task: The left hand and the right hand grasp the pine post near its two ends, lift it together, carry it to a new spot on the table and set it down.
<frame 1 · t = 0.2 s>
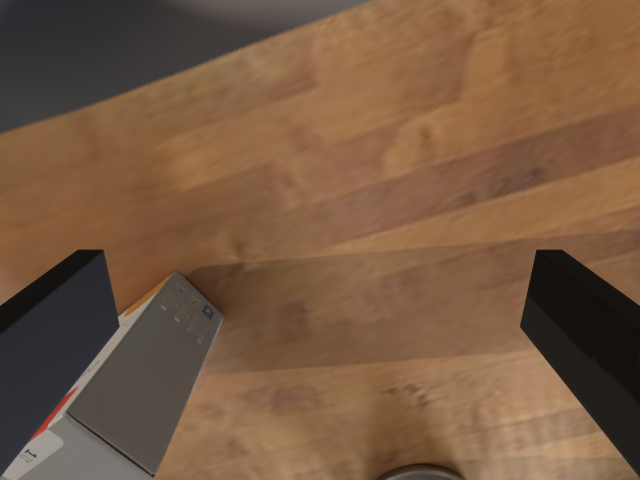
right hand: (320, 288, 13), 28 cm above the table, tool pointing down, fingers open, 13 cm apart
hard drive box: (153, 328, 46), on the table
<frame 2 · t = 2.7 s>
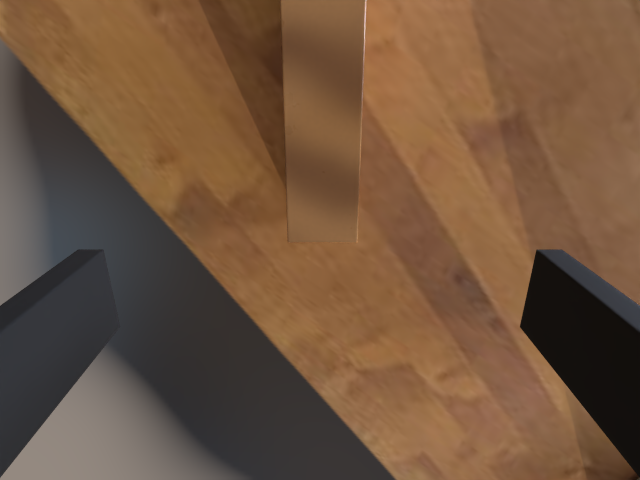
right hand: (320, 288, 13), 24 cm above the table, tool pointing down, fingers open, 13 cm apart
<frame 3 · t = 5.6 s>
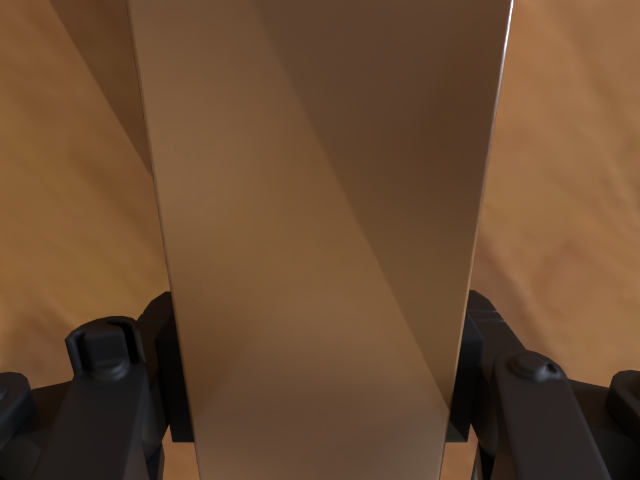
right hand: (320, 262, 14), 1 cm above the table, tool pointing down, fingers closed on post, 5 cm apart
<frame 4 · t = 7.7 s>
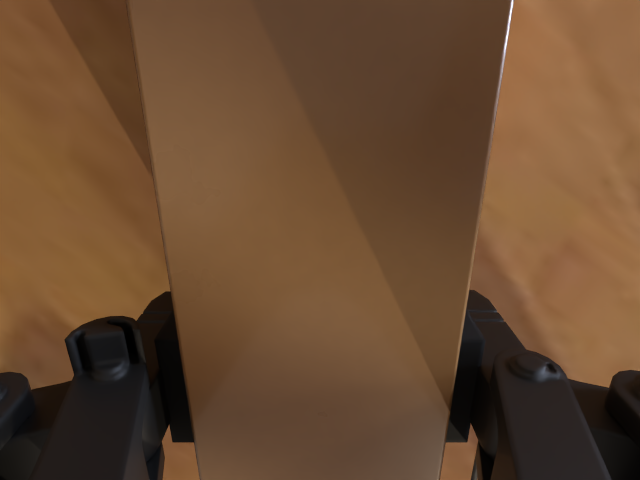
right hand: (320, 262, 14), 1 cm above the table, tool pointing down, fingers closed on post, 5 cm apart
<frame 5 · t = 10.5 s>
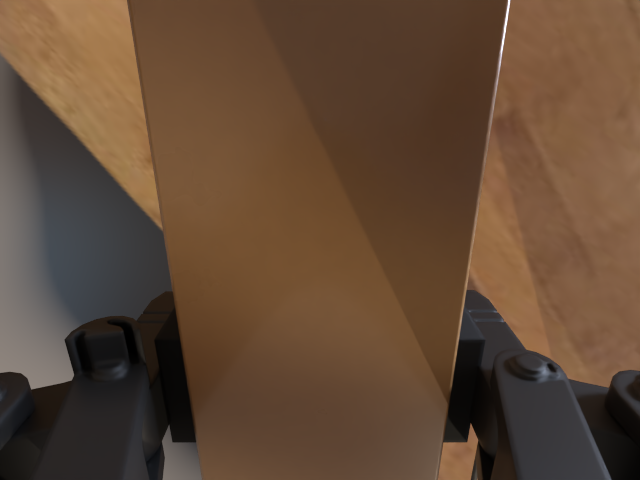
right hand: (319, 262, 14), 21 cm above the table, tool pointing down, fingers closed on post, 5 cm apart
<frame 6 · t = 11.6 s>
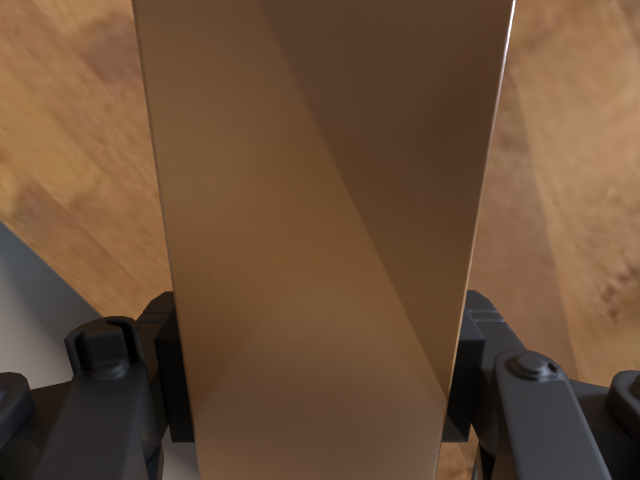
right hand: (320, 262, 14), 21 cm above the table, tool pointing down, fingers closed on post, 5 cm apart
when the right hand's fingers open (2 cm above the table, at t = 15.4 s): post drops 1 cm, on the table.
when the left hand's fingers open (4 cm above the table, at t = 15.6 s): post stays where it is, on the table.
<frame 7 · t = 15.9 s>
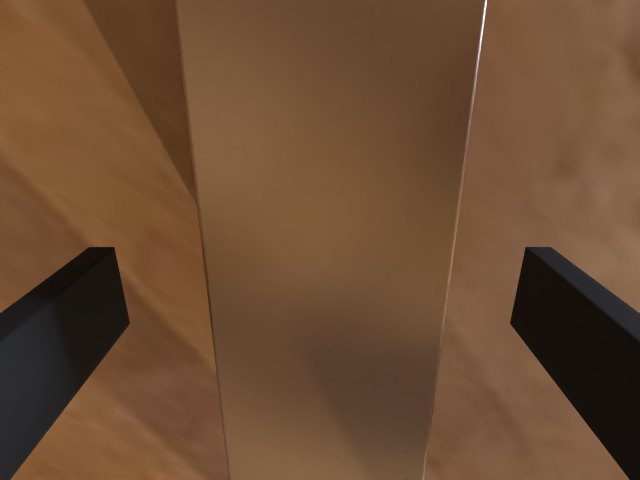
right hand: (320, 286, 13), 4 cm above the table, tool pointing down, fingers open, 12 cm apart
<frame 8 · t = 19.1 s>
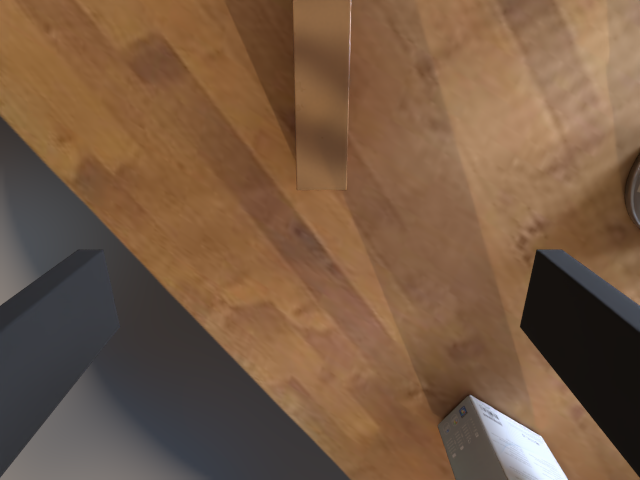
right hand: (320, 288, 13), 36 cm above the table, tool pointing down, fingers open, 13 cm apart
hard drive box: (489, 429, 63), on the table
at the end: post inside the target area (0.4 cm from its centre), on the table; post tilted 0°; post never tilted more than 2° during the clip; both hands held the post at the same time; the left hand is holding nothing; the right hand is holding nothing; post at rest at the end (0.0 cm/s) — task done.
